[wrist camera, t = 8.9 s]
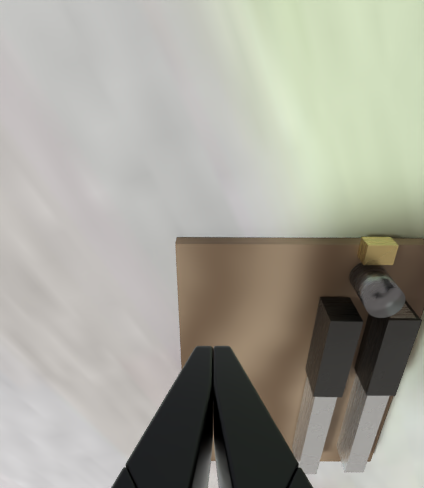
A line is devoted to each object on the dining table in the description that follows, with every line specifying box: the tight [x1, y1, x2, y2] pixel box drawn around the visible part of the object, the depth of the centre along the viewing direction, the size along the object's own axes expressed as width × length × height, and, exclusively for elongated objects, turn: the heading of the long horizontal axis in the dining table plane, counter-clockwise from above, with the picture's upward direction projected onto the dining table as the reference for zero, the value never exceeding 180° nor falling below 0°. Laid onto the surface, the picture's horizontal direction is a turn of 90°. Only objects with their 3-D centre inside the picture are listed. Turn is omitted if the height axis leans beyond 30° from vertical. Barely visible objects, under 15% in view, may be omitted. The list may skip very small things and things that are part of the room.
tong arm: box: [292, 297, 363, 474], centre depth 24 cm, size 2×14×2 cm, turn 179°
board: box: [176, 237, 424, 462], centre depth 25 cm, size 15×20×1 cm
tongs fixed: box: [336, 237, 422, 472], centre depth 23 cm, size 4×18×3 cm, turn 0°
